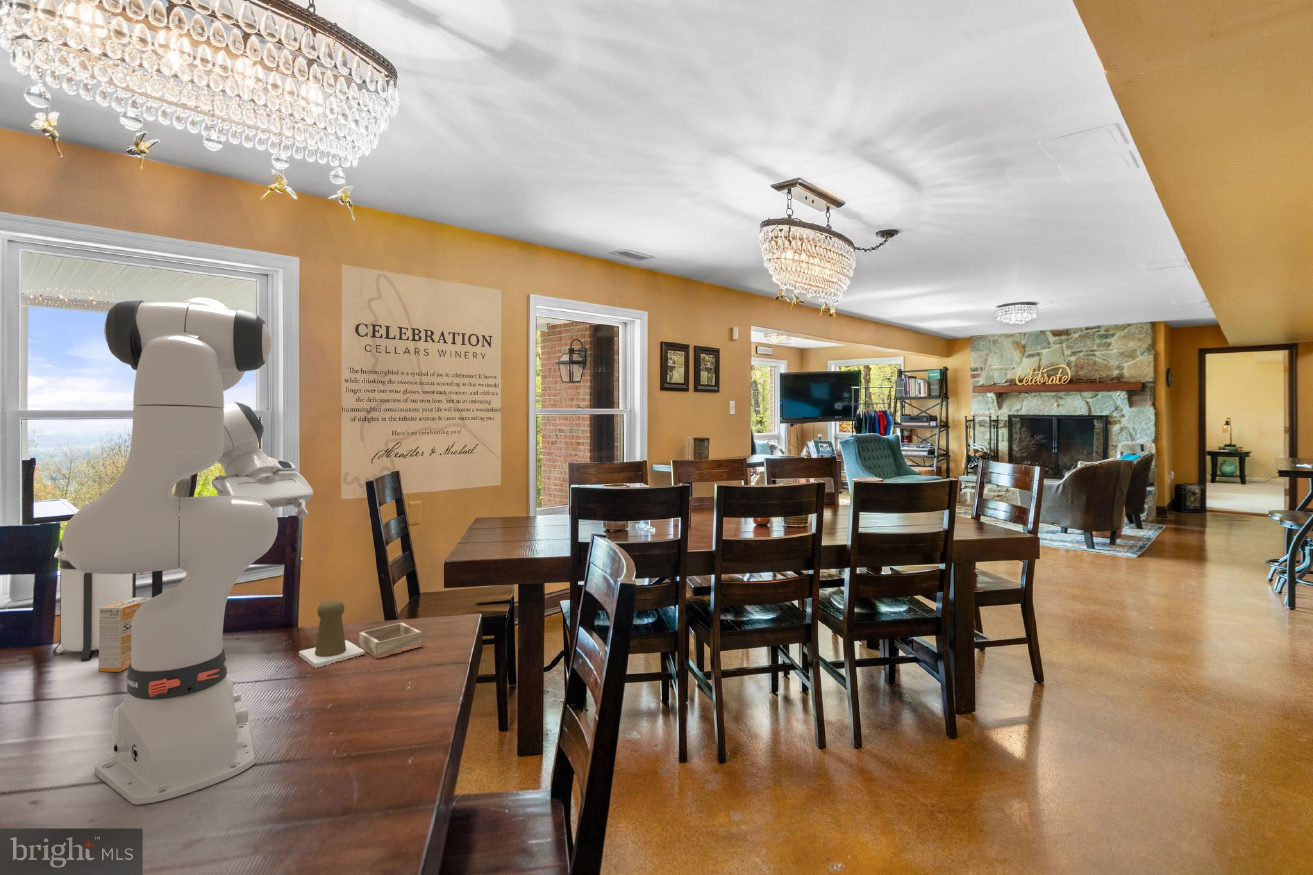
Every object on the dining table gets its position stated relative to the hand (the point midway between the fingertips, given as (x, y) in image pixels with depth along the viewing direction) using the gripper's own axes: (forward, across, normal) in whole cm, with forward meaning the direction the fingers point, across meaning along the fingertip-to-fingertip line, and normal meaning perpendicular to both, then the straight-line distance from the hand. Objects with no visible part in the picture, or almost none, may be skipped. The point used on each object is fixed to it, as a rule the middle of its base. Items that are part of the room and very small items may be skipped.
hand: (286, 519), depth 136 cm
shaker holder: (+36, +9, +6) cm, 37 cm away
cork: (+29, 0, +11) cm, 31 cm away
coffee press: (-6, -12, +48) cm, 50 cm away
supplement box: (+5, -17, +37) cm, 41 cm away
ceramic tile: (+30, 0, +12) cm, 32 cm away
